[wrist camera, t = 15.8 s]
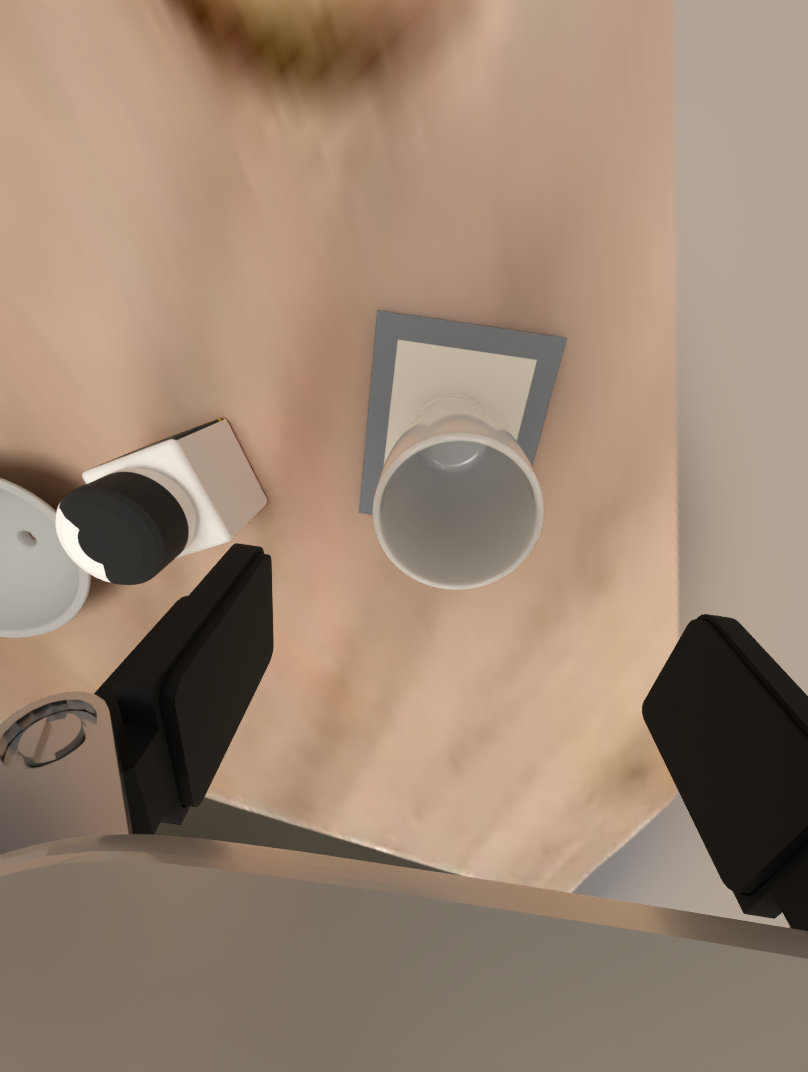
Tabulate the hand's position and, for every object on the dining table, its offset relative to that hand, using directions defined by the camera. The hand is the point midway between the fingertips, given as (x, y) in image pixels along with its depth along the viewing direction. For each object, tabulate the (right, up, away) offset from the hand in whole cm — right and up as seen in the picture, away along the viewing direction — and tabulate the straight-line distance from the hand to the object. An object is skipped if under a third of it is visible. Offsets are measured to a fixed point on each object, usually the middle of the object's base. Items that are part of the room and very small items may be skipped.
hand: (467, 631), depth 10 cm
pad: (+2, +9, +21) cm, 23 cm away
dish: (-33, +2, +28) cm, 44 cm away
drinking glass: (+2, +9, +20) cm, 23 cm away
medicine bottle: (-17, +7, +24) cm, 30 cm away
